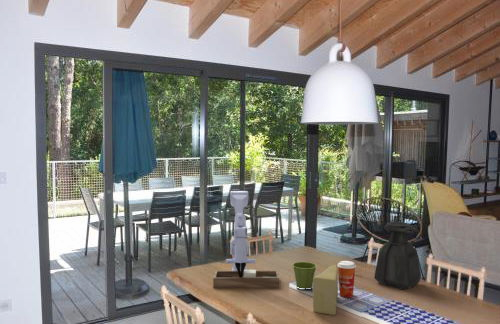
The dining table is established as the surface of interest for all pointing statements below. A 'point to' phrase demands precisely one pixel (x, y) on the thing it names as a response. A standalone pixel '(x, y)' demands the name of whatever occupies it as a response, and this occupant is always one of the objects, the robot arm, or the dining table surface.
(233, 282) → the trap box
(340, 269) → the coffee cup
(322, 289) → the cheese
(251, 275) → the cream block
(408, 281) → the black faceted vase
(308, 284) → the plant pot
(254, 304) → the dining table surface
